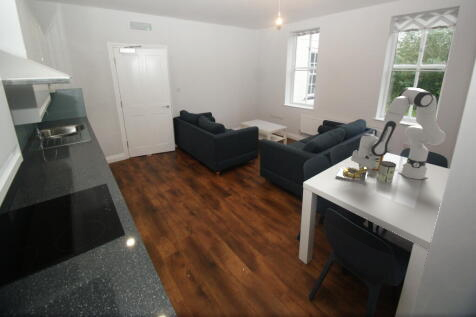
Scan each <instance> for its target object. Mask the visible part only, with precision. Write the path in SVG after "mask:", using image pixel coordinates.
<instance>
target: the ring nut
mask: <svg viewBox="0 0 476 317" xmlns="http://www.w3.org/2000/svg"><path fill="white" fill-rule="evenodd" d="M345 168H346V169H344V170H343V173H344V174H345V175H347V176H351V177H353V176H354V177H361V175H362V173H363V172H368V171H367V170H368V168H367V167H364V168H360V169H359V168H354V167H352V168H351V167H349V166H348V167H345ZM350 169H354V170H356V172H355V173H350V172H349V170H350Z"/></svg>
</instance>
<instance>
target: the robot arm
mask: <svg viewBox="0 0 476 317" xmlns="http://www.w3.org/2000/svg"><path fill="white" fill-rule="evenodd" d="M437 103H438V102H437V97H436V96H435V95H434V94H432V93H431V92H429V91H428V90H425V89H423V88H417V87H413V86H409V87H408V86H407V87H405V88H403V89H402V90H401V91H400V93H399V94H398V96H397V97H395V98H394V99H393V100H392V101H391V103H390V104H389V106H388V108H387V110H386V112H385V115H384V117H383V128H382V131H381V133H380V136H379V137H377V136H376V135H375V134H374V133H364V134H363V135H362V136H361V138H360V141H359V148H358V150H356V149H355V150H353V152H352V155H351V158H350V160H351V161H352V162H353V163H355V164H358V170H359V169H360V168H367V169H368V168H369V170H373V168H375V163H376V161H375V159H376V156H378V157H380V156H384V157H385V156H386V155H387V154H388V145H389V142H390V140H391V138H392V135H393V133H394V132H395V130H396V128H397V127H399V124H400V123H401V122H402V120H403V119H404V117H405V115H406V112H407V110H408V108H409V107H410V106H415V107H416V109H415V110H416V112H415V121H416V124H418V125H409V126H407V127H406V128H405V130H404V136H405V138H406V139H407V140H408V143H409V145H410V147H409V154H408V157H407V158H406V162H405V163H402V167H401V168H400V169H399V170H398V174H399V175H402V176H404V177H405V178H409V179H414V180H422V179H428V178H429V177H428V175H427V170H428V167H427V166H426V165H427V161H428V160H427V159H428V155H429V149H428V147H426V146H425V144H429V145H435V146H437V145H441V144H442V143H444V142H445V141H446V136H447V135H446V133H445V131H444V130H442V129H441V128H440V126H439V125H438V123H437V108H438V106H437V105H438V104H437ZM424 143H425V144H424Z"/></svg>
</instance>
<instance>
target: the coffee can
mask: <svg viewBox="0 0 476 317" xmlns="http://www.w3.org/2000/svg"><path fill="white" fill-rule="evenodd" d="M396 167H397V163H395V162H393V161H388V160H383V161H381V162H380V166H379V171H377V176H376V177H377V178H376V180H377V181H378V182H380V183H384V184H392V183H393V180H394V175H395V171H396Z"/></svg>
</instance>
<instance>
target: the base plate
mask: <svg viewBox="0 0 476 317" xmlns="http://www.w3.org/2000/svg"><path fill="white" fill-rule="evenodd" d="M346 168H347V167H343V166H341V167H340V169H339V170H338V172H337V174H336V175H335V179H338V180H344V181H349V182H353V183H357V184H362V185H364V184H365V183H366V181H367V180H366V179H367V176H368V175H369V172H368V171H366V172H363V173H362V175H361V177H354V176H353V177H351V176H347V175H345V174H344V173H343V170H344V169H346ZM349 172H350V173H355V172H356V170H354V169H350V170H349Z"/></svg>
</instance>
